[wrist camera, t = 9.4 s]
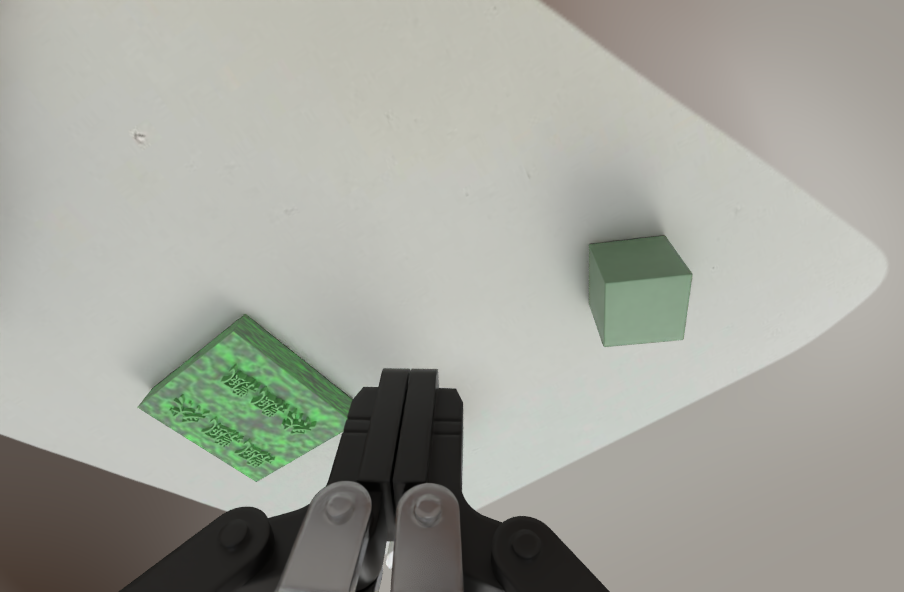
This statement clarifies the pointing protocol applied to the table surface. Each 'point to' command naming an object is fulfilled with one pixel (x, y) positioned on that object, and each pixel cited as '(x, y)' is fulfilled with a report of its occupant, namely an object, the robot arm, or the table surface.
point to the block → (638, 291)
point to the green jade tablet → (249, 401)
